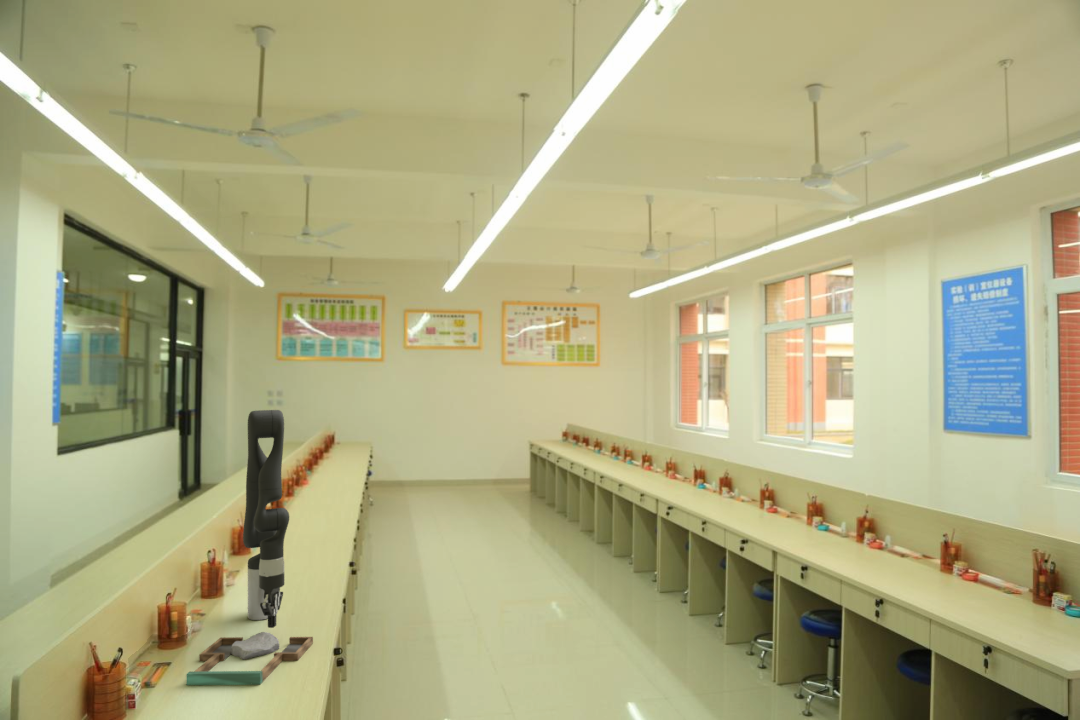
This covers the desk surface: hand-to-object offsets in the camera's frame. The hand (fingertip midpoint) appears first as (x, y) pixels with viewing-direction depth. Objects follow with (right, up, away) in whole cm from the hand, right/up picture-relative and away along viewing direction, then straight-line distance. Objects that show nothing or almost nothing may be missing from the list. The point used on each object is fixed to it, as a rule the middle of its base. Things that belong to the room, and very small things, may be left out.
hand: (272, 626), depth 215 cm
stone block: (-1, -4, -10) cm, 11 cm away
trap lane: (0, -3, -18) cm, 18 cm away
